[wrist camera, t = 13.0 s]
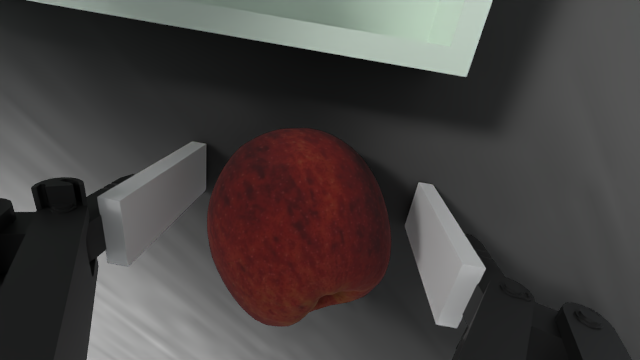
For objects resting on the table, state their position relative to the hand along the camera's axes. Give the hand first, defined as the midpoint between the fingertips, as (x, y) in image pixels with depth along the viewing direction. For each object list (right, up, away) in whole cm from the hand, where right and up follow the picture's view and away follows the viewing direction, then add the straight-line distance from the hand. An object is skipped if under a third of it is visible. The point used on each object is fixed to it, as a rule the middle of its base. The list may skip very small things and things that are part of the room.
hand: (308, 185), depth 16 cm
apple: (0, 0, 0) cm, 0 cm away
